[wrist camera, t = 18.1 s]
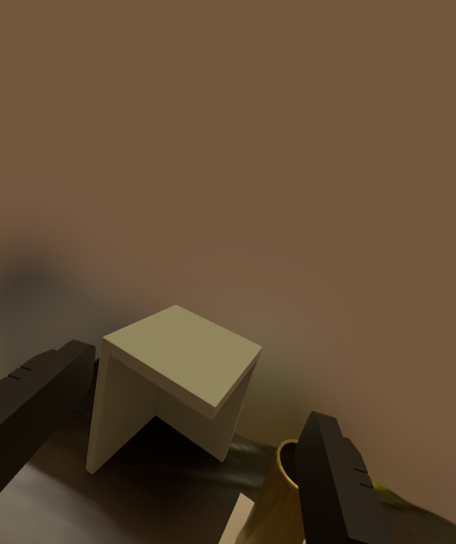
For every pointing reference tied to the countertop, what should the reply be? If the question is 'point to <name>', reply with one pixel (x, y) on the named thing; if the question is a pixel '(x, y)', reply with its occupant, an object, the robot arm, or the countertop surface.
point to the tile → (237, 520)
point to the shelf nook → (170, 382)
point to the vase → (276, 504)
